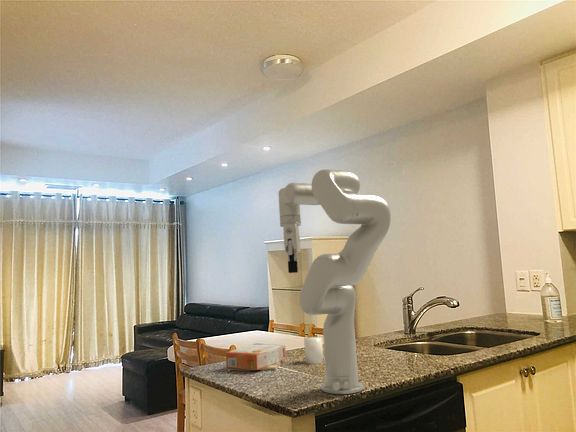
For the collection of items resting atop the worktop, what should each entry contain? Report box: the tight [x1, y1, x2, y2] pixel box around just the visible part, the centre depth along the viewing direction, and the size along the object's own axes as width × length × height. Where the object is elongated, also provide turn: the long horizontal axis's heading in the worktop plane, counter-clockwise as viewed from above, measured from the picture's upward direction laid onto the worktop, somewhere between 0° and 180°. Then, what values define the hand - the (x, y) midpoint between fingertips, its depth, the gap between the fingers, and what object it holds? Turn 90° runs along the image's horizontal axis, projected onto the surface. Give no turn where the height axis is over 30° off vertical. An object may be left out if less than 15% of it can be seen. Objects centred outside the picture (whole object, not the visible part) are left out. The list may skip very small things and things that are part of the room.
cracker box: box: [225, 342, 287, 370], centre depth 167 cm, size 14×6×21 cm
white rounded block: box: [303, 336, 324, 365], centre depth 170 cm, size 7×7×9 cm
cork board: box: [226, 360, 283, 371], centre depth 167 cm, size 16×18×1 cm
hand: (293, 272), depth 155 cm, fingers closed
